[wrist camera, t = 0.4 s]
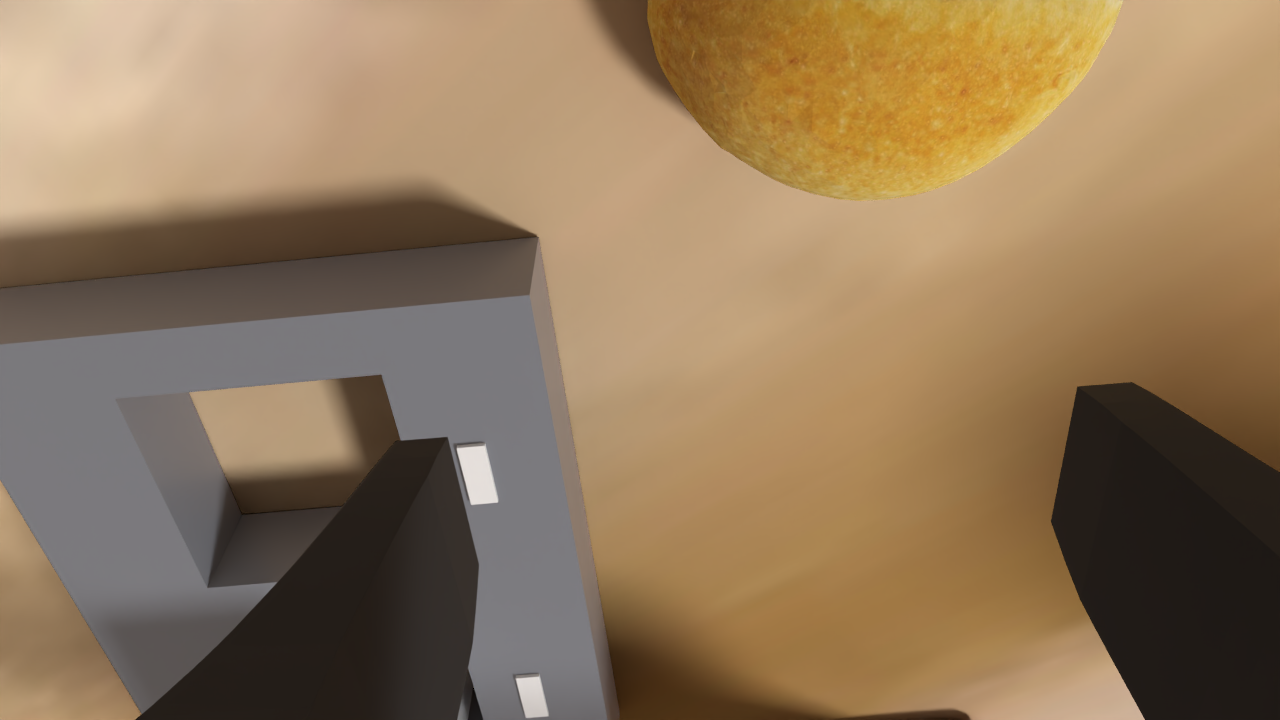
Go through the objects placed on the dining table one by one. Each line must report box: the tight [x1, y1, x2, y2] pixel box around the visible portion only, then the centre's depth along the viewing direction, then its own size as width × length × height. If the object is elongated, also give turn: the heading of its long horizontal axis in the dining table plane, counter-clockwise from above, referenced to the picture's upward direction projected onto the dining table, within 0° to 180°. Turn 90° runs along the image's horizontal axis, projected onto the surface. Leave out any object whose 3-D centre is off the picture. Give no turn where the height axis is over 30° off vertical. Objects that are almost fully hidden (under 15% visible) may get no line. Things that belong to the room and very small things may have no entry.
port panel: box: [0, 237, 619, 720], centre depth 24 cm, size 16×12×3 cm
